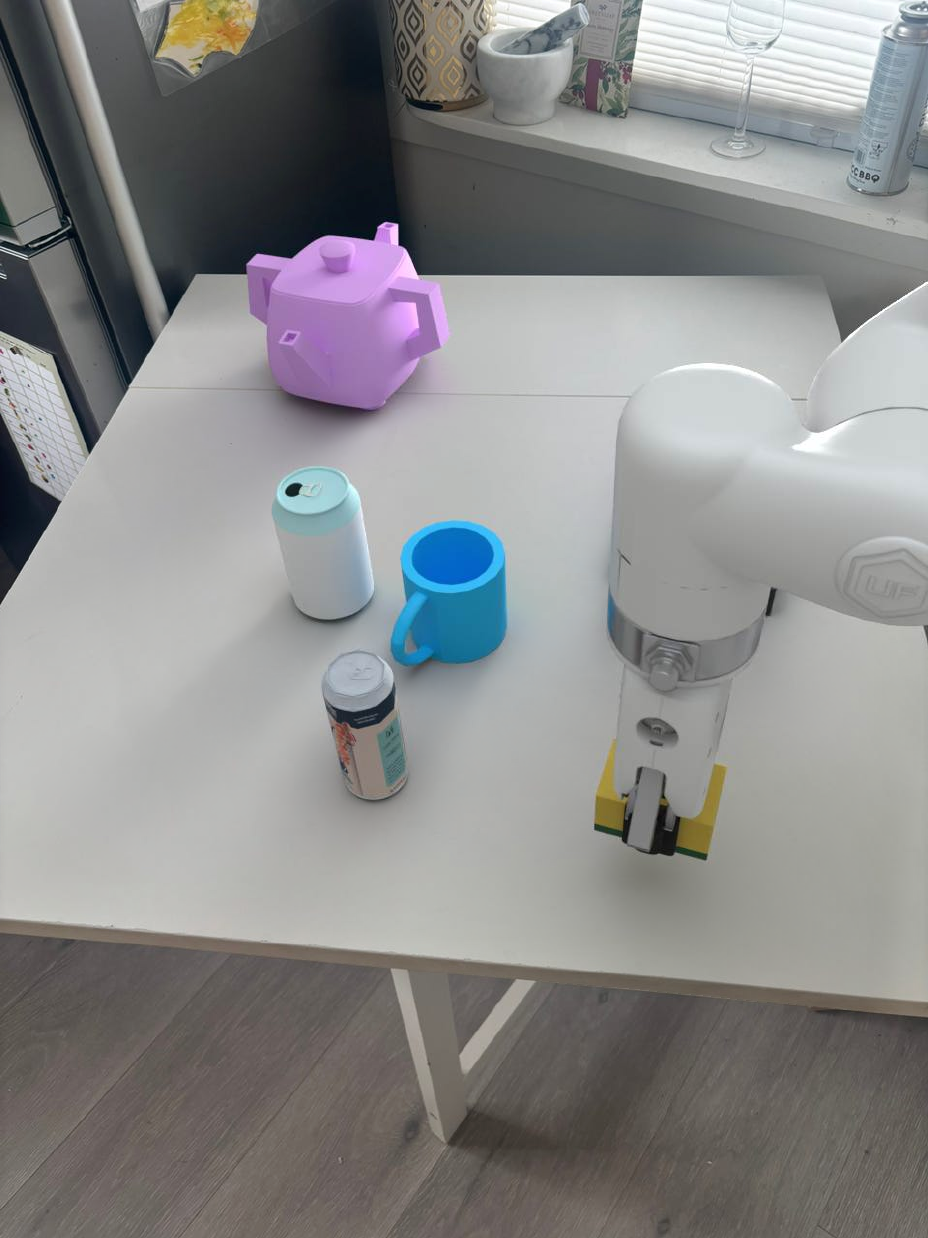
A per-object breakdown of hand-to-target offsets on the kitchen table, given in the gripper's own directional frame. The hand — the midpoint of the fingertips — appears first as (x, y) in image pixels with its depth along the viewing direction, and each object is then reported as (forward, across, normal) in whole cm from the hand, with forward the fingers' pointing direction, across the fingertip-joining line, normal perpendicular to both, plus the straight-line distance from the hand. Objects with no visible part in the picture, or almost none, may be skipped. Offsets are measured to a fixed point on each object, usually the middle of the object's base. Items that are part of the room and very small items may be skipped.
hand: (658, 809), depth 62 cm
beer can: (+7, +1, +21) cm, 22 cm away
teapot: (+7, +48, +44) cm, 65 cm away
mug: (+7, +15, +21) cm, 27 cm away
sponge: (+1, 0, 0) cm, 1 cm away
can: (+7, +17, +32) cm, 37 cm away
